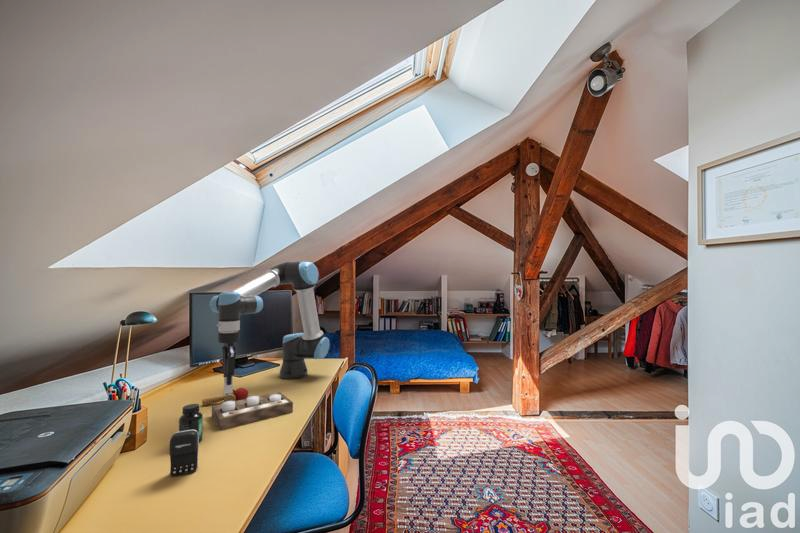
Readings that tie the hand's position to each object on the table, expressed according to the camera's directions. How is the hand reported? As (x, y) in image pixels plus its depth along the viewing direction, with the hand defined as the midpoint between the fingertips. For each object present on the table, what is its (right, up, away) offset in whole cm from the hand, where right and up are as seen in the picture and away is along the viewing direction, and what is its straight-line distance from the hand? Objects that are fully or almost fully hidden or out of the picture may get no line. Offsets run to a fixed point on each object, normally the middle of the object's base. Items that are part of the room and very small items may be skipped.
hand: (228, 392), depth 134 cm
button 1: (0, -9, 0) cm, 9 cm away
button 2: (+14, -10, +11) cm, 21 cm away
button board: (+7, -11, +5) cm, 14 cm away
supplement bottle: (-4, -10, -18) cm, 21 cm away
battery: (+5, -10, -36) cm, 38 cm away
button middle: (+7, -9, +6) cm, 13 cm away
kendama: (-10, -12, +18) cm, 23 cm away
